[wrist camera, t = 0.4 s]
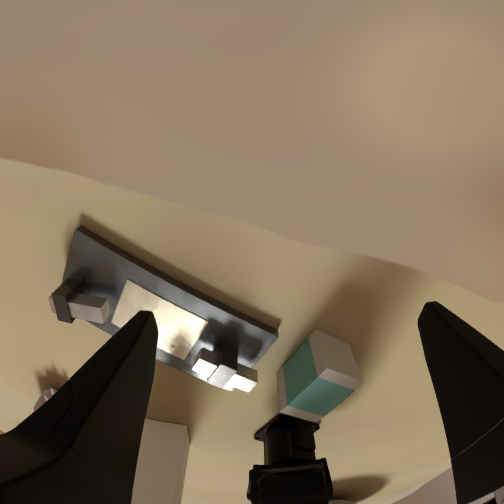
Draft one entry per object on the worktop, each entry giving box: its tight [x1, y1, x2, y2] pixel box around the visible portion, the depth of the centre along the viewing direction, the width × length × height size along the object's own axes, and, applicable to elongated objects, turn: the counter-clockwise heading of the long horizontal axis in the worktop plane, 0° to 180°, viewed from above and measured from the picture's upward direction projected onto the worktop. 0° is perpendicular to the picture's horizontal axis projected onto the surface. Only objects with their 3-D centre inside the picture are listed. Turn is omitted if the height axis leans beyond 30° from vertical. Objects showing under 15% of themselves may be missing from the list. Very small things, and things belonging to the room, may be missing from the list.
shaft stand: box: [49, 226, 278, 392], centre depth 25 cm, size 9×20×4 cm, turn 59°
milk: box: [131, 418, 190, 504], centre depth 25 cm, size 6×6×22 cm
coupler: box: [277, 329, 364, 422], centre depth 26 cm, size 7×4×5 cm, turn 149°
